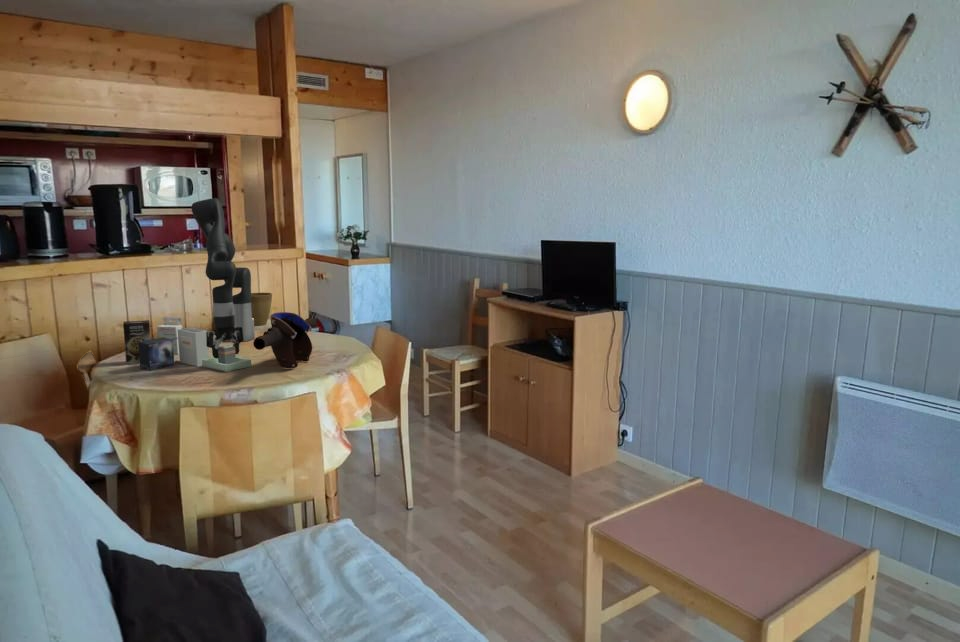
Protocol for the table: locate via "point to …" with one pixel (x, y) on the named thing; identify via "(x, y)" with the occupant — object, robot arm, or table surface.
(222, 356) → the module
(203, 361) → the tray
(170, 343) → the small box
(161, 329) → the ink cartridge box
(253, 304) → the plant pot
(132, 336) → the coffee box
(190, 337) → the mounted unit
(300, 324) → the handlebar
